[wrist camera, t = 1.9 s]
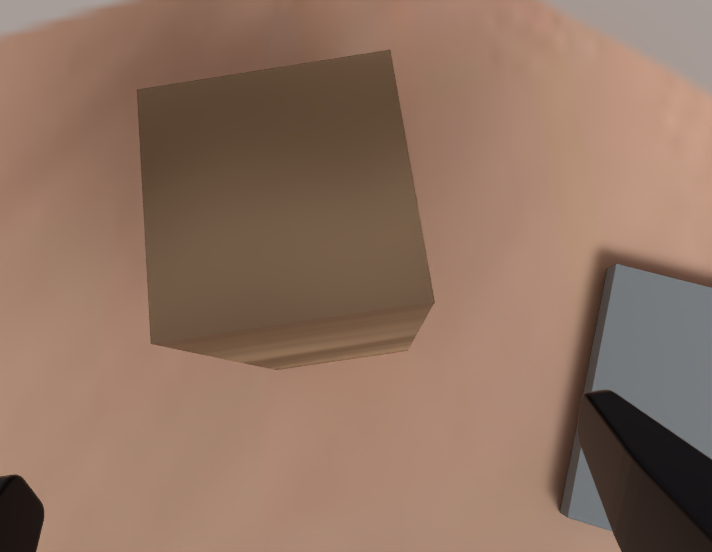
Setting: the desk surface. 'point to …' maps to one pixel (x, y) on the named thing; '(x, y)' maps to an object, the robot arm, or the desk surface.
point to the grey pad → (648, 367)
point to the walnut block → (282, 215)
